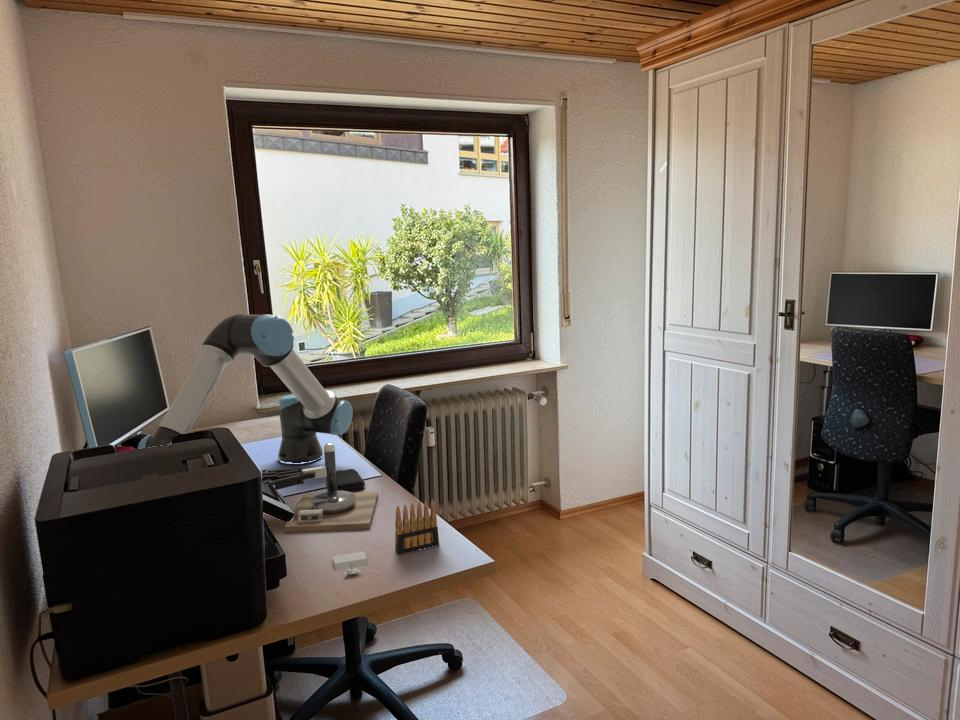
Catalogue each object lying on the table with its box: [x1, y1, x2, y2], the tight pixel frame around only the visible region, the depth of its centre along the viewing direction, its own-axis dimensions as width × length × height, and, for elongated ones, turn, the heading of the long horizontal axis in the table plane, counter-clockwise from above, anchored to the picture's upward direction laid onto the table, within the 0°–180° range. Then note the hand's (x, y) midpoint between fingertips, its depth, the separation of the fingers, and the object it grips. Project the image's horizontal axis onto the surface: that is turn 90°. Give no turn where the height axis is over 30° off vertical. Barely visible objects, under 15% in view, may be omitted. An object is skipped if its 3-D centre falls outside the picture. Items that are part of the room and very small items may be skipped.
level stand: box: [284, 491, 379, 533], centre depth 181 cm, size 22×22×4 cm
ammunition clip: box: [394, 498, 440, 556], centre depth 157 cm, size 11×2×12 cm, turn 114°
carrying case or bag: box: [336, 468, 366, 492], centre depth 203 cm, size 11×3×15 cm
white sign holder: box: [332, 551, 369, 577], centre depth 149 cm, size 7×12×2 cm, turn 16°
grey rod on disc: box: [311, 442, 356, 514], centre depth 182 cm, size 15×12×16 cm
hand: (325, 471), depth 186 cm, fingers closed
